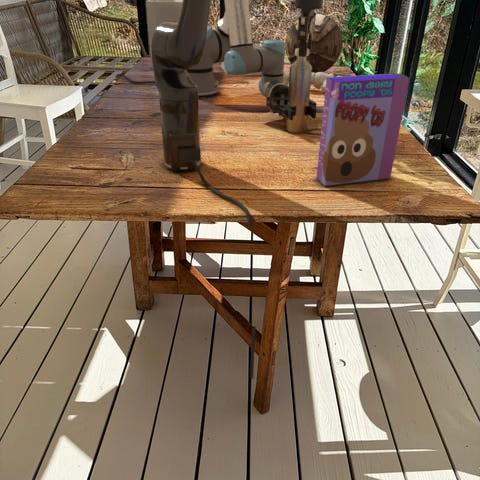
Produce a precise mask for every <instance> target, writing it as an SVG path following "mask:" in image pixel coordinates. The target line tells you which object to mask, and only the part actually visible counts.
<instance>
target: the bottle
mask: <svg viewBox="0 0 480 480" xmlns="http://www.w3.org/2000/svg"><path fill="white" fill-rule="evenodd" d="M306 58H307V56H306V57H299V56H297V60H296V61H295V62H294V63H293V64H290V66H289V71H288V72H289V84H288V87H289V88H288V105H287V106H288V107H289V108H291V109H292V110H293V120H290V119H288V118H287V117H286V124H285V130H286V132H289V133H293V134H302V133H305V132H307V131H308V121H309V115H308V111H309V99H311V98H310V97H311V86H312V85H311V76H312V66H311V65H310V64H309V62H308V61H306Z"/></svg>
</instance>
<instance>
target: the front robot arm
mask: <svg viewBox="0 0 480 480" xmlns="http://www.w3.org/2000/svg"><path fill="white" fill-rule="evenodd" d="M323 5H324V0H294V7H295V8H296V9H298V10H299V9H300V10H302V11H301V15H299V16H298V19H297V20H299V22H298V37H297V39H298V41H299V53H298V55H299V57H306V55H307V49H309V53H310V52H311V45H312V39H311V38H313V35H314V33H315V32H314V30H315V20H316V13H317V12H316V11H315V10H320V9H322V8H323ZM211 6H212V0H183V3H182V8H181V13H180V17H179V21H178V23H172V22H164V23H161V24H160V25H158V26H157V27H156V28H155V30H154V32H153V35H152V39H151V54H152V63H153V69H152V70H153V71H152V72H153V79H154V81H155V83H154V84H155V85H156V88H157V90H158V96H159V111H160V123H161V124H160V125H161V138H162V139H161V140H162V151H163V166H164V167H165V168H166V169H168V170H170V171H171V172H187V171H196V173H197V174H198V177H199V178H200V180H201V181H202V183H203V184H204V185H205V187H206V188H207V189H208V190H210V191H211V192H212V193H214V194H215V195H218V196H219V197H220V198H222V199H225V200H227V201H229V202H231V203H234V204H235V205H237V206H238V207H239V208H240V209H242V211H243V212H244V213H245V217H246V219H247V223H248V226H249V227H254V224H253V221H252V217H251V214H250V211H249V209H248V208H247V206H245V205H244V204H243V203H242V202H240V201H239V200H237V199H235V198H233V197H231V196H228V195H226V194H224V193H222V192H221V191H219V190H217V189H216V188H215V187H212V186H211V185H210V184H209V182H207V180H206V178H205V176H204V175H203V173H202V171H201V169H200V168H199V167H200V166H201V165H202V162H201V161H202V157H201V156H202V155H201V142H200V113H199V110H200V108H199V98H198V86H197V84H196V83H195V82H194V81H193V80H192V79H191V78H190V76H189V75H188V73H187V70H189V69H192V68H194V67H195V66H196V65H197V64H198V63H199V62H200V60H201V58H202V55H203V52H204V47H205V42H206V34H207V27H208V26H209V19H210V14H211V13H210V11H211ZM302 34H304V36H302ZM256 329H257V326H256V325H253V326H252V327H251V345H250V368H249V378H250V379H254V371H255V369H254V368H255V367H254V366H255V345H256V344H255V343H256Z"/></svg>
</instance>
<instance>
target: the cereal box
mask: <svg viewBox="0 0 480 480" xmlns="http://www.w3.org/2000/svg"><path fill="white" fill-rule="evenodd" d="M340 76H341V77H337V76H334V77H327V80H326V90H325V92H324V100H323V108H322V109H323V110H322V120H321V129H320V130H321V132H320V139H319V140H320V141H319V147H318V148H319V149H318V156H317V157H318V158H317V167H316V176H315V178H316V180H317V181H318V182H319V183H320V184H321V185H322V186H324V187H333V186H340V185H349V184H359V183H367V182H376V181H383V180H390V179H391V178H392V172H393V166H394V163H395V162H394V161H395V156H396V150H397V145H398V140H399V135H400V130H401V125H402V119H403V114H404V108H405V105H406V104H405V103H406V99H407V93H408V88H409V83H410V77H409V76H407V75H405V74H402V73H381V74H380V73H379V74H378V73H377V74H360V75H344V76H343V75H340Z"/></svg>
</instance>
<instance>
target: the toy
mask: <svg viewBox="0 0 480 480" xmlns="http://www.w3.org/2000/svg"><path fill="white" fill-rule="evenodd" d="M289 72H290V71H286V72H285V73H283V83H284V84H286V85H287V86H288V87H289ZM341 76H342V75H336V77H341ZM327 77H335V74H334V72H333V71H329V72H328V73H327V72H317V73H314V72H313V73H312V76H311V86H313V87H314V88H315V89H318V90H320V92H321V93H325V90H326V80H327Z"/></svg>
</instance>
